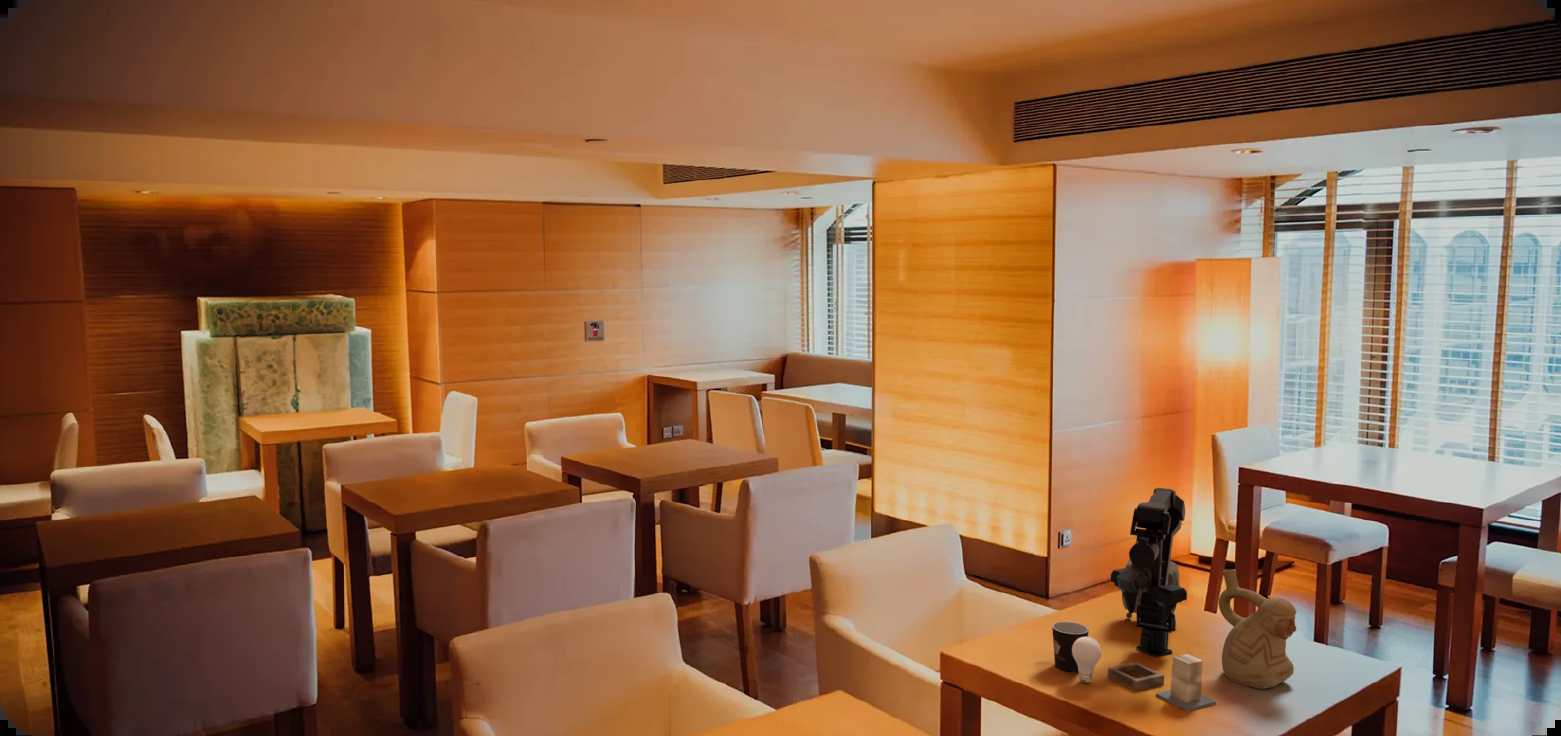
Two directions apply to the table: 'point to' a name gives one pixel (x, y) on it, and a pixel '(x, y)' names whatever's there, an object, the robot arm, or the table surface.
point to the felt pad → (1186, 706)
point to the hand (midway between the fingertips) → (1146, 619)
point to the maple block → (1186, 678)
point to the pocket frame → (1147, 680)
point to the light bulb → (1086, 657)
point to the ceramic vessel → (1256, 637)
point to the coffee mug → (1066, 644)
